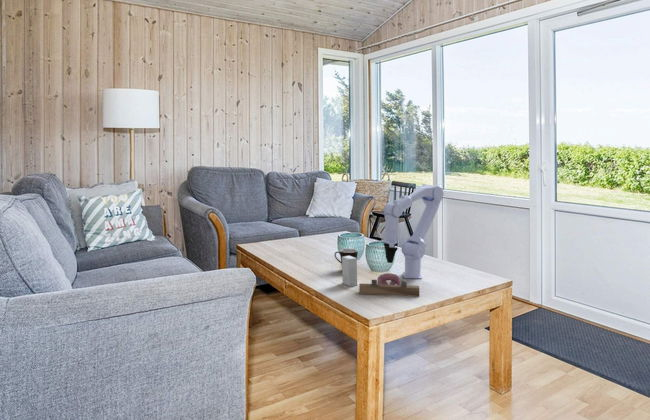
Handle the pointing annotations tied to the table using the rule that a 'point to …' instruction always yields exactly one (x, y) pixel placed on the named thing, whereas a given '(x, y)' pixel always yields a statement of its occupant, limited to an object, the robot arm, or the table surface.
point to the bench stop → (389, 289)
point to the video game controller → (389, 276)
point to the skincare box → (349, 270)
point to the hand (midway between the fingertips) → (389, 260)
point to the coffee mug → (347, 253)
